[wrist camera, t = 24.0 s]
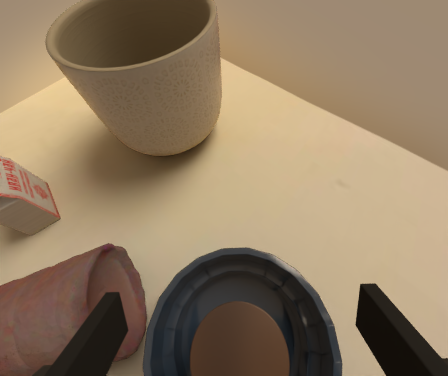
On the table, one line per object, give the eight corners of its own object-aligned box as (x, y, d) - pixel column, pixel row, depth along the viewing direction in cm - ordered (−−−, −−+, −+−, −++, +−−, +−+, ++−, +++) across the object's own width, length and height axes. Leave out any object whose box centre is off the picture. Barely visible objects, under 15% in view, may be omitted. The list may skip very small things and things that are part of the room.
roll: (266, 304, 22) (281, 299, 14) (273, 374, 20) (298, 425, 11) (211, 305, 23) (191, 302, 14) (210, 375, 20) (186, 426, 11)
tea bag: (32, 235, 28) (-62, 201, 20) (21, 197, 31) (-65, 153, 22) (60, 218, 29) (-18, 179, 20) (47, 183, 32) (-26, 135, 23)
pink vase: (139, 253, 26) (96, 229, 19) (153, 346, 22) (105, 366, 14) (-55, 321, 24) (-195, 325, 16) (-84, 439, 20) (-296, 524, 12)
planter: (142, 192, 30) (63, 99, 17) (106, 117, 38) (32, 12, 24) (247, 137, 34) (251, 23, 20) (195, 78, 41) (173, -33, 28)
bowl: (300, 258, 25) (316, 244, 20) (334, 441, 18) (372, 495, 13) (173, 263, 25) (156, 251, 20) (159, 440, 19) (127, 491, 13)
